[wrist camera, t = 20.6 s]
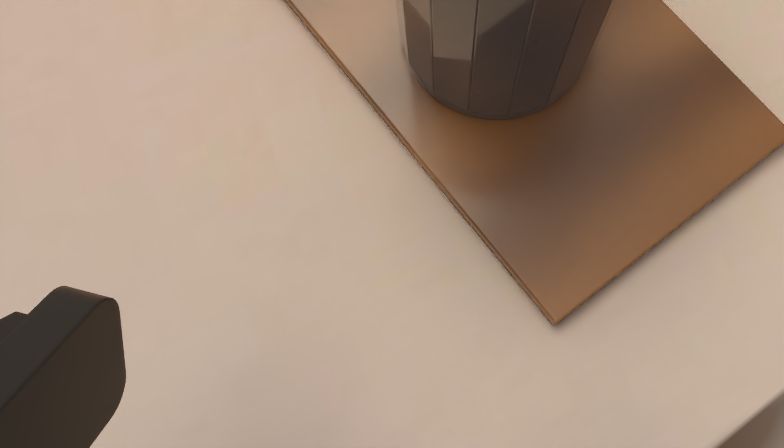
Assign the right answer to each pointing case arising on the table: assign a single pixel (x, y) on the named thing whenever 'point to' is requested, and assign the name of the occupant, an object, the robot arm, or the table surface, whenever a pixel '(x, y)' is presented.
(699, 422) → the table surface
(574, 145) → the plate
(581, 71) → the open gray tube
